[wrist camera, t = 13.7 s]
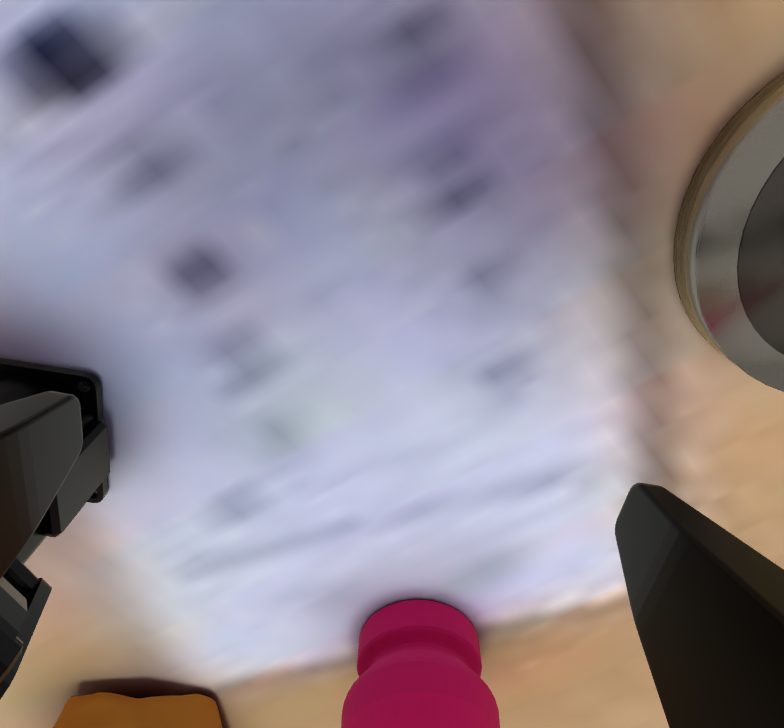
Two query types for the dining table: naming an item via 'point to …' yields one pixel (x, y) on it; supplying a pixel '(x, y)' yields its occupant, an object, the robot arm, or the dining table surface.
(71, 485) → the robot arm
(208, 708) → the coffee package
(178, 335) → the dining table surface
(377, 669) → the pepper mill
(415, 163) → the dining table surface
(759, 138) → the dark grey bowl
